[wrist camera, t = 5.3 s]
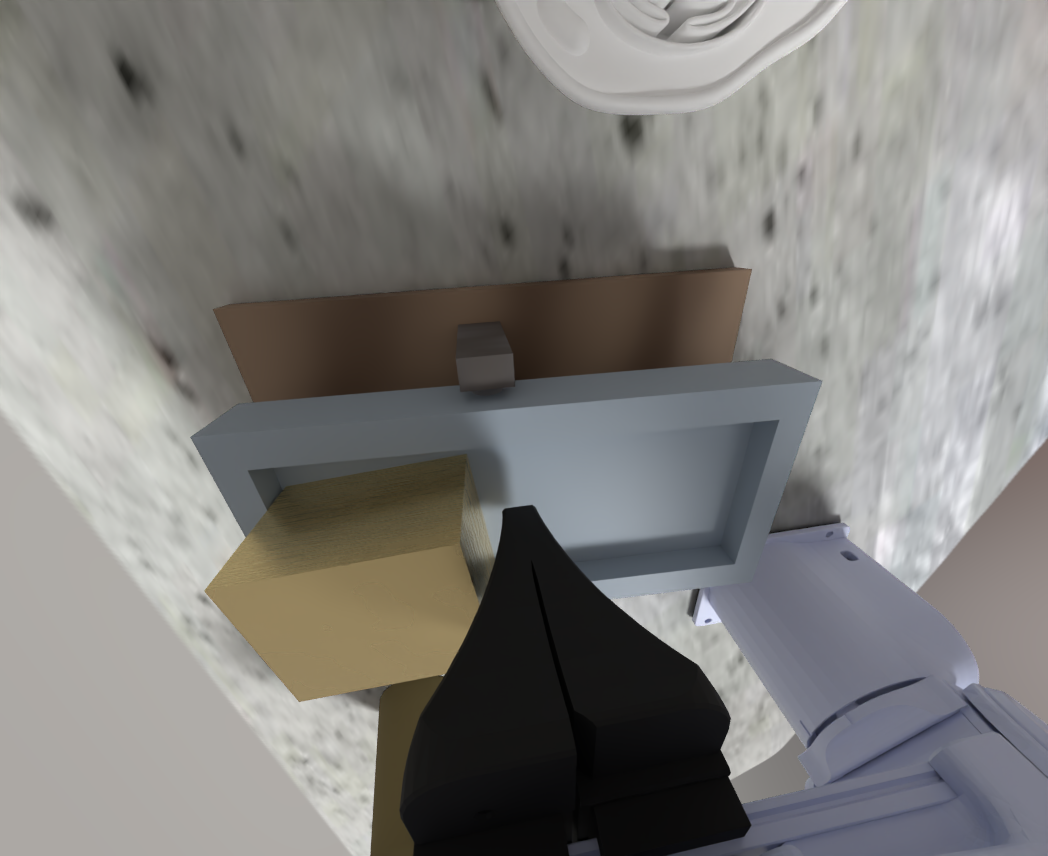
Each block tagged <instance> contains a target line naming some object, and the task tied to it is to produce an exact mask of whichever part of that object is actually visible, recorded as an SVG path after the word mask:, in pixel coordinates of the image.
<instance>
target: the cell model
mask: <svg viewBox="0 0 1048 856" xmlns="http://www.w3.org/2000/svg"><path fill="white" fill-rule="evenodd" d="M494 1H495V3H496V5H497V6H498V8H499V10H500V12H501V14H502V16H503V17H504V19H505V21H506V22H507V24H508V26H509V28H510V29H511V31H512V32H513V34H514V36H515V38H516V39H517V41H518V42H519V44H520V45H521V47H522V48H523V50H524V51H525V52H526V54H527V55H528V56H529V58H530V59H531V60H532V62H533V63H534V64H535V65H536V66H537V68H538V69H539V70H540V71H541V72H542V73H543V75H544V76H545V77H546V78H547V79H548V80H549V81H550V82H551V83H552V84H553V85H554V86H555V87H556V88H557V89H558V90H559V91H560V92H561V93H562V94H564V95H565V96H566V97H568V98H569V99H570V100H572V101H573V102H575V103H577V104H579V105H580V106H582V107H585V108H588V109H590V110H593V111H597V112H601V113H608V114H618V115H657V114H677V113H688V112H695V111H699V110H703V109H706V108H709V107H711V106H714V105H716V104H718V103H720V102H721V101H723V100H725V99H726V98H728V97H729V96H731V95H732V94H733V93H735V92H736V91H737V90H739V89H740V88H741V87H743V86H744V85H745V84H746V83H748V82H749V81H750V80H751V79H752V78H754V77H755V76H756V75H758V74H759V73H760V72H761V71H763V70H764V69H765V68H766V67H768V66H770V65H771V64H773V63H774V62H776V61H777V60H779V59H781V58H782V57H784V56H786V55H787V54H789V53H791V52H792V51H794V50H796V49H797V48H799V47H800V46H802V45H803V44H805V43H806V42H808V41H809V40H810V39H812V38H813V37H814V36H815V35H816V34H817V33H819V32H820V31H821V30H822V29H823V28H824V27H825V26H826V25H827V24H828V23H829V22H830V21H831V20H832V19H833V18H834V17H835V15H836V14H837V13H838V12H839V11H840V9H841V8H842V7H843V6H844V5H845V3H846V2H847V1H848V0H494Z"/></svg>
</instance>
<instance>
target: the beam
mask: <svg viewBox="0 0 1048 856" xmlns="http://www.w3.org/2000/svg"><path fill="white" fill-rule="evenodd" d="M821 384H822V381H821V380H819V379H817V378H814V377H812V376H810V375H807V374H805V373H803V372H801V371H798V370H796V369H794V368H791V367H789V366H787V365H784V364H782V363H780V362H777V361H775V360H773V359H765V360H753V361H741V362H729V363H717V364H706V365H694V366H682V367H670V368H658V369H646V370H634V371H622V372H610V373H599V374H587V375H575V376H563V377H551V378H539V379H527V380H515V387H507V388H497V389H487V390H478V391H468V392H460V386H459V385H456V386H444V387H432V388H420V389H408V390H396V391H385V392H373V393H361V394H349V395H337V396H325V397H313V398H301V399H290V400H278V401H266V402H254V403H242V404H237V405H236V406H234V407H233V408H232V409H230V410H229V411H227V412H226V413H224V414H223V415H222V416H220V417H219V418H217V419H216V420H214V421H213V422H211V423H210V424H209V425H207V426H206V427H204V428H203V429H201V430H200V431H199V432H197V433H196V434H194V435H193V436H191V439H192V441H193V443H194V445H195V446H196V448H197V450H198V452H199V454H200V455H201V457H202V459H203V461H204V463H205V464H206V466H207V468H208V470H209V472H210V474H211V475H212V477H213V479H214V481H215V483H216V484H217V486H218V488H219V490H220V492H221V493H222V495H223V497H224V499H225V501H226V503H227V504H228V506H229V508H230V510H231V512H232V513H233V515H234V517H235V519H236V521H237V522H238V524H239V526H240V528H241V530H242V531H243V533H244V535H245V537H247V536H248V534H249V533H250V532H251V530H252V529H253V528H254V527H255V525H256V524H257V523H258V522H259V520H260V519H261V518H262V516H263V515H264V514H265V513H266V511H267V510H268V509H269V507H270V506H271V505H272V504H273V502H274V501H275V500H276V498H277V497H278V496H279V495H280V493H281V492H282V491H283V490H284V488H285V487H286V486H292V485H297V484H303V483H308V482H314V481H319V480H325V479H330V478H336V477H341V476H347V475H352V474H358V473H363V472H369V471H374V470H380V469H385V468H391V467H396V466H402V465H407V464H413V463H418V462H424V461H429V460H435V459H440V458H446V457H451V456H457V455H462V454H467V457H468V460H469V464H470V468H471V472H472V475H473V479H474V483H475V487H476V490H477V494H478V498H479V502H480V505H481V509H482V513H483V516H484V520H485V524H486V528H487V531H488V535H489V539H490V543H491V546H492V550H493V554H494V558H496V554H497V550H498V545H499V541H500V535H501V529H502V511H503V510H504V509H505V508H511V507H519V506H526V505H533V506H535V507H536V509H537V511H538V513H539V515H540V517H541V518H542V520H543V522H544V523H545V525H546V526H547V528H548V529H549V531H550V532H551V534H552V535H553V536H554V538H555V539H556V540H557V542H558V543H559V544H560V546H561V547H562V548H563V550H564V551H565V552H566V553H567V555H568V556H569V557H570V558H571V560H572V561H573V562H574V563H575V564H576V565H577V566H578V568H579V569H580V570H581V571H582V572H583V573H584V574H585V575H586V576H587V577H588V579H589V580H590V581H591V582H592V583H593V584H594V585H595V586H596V587H597V588H598V589H599V590H600V591H601V592H603V593H604V594H605V595H606V596H607V597H608V598H609V599H618V598H626V597H634V596H642V595H650V594H658V593H666V592H674V591H683V590H691V589H699V588H707V587H715V586H723V585H731V584H739V583H748V582H752V580H753V577H754V574H755V571H756V568H757V566H758V563H759V560H760V557H761V554H762V551H763V549H764V546H765V543H766V540H767V537H768V534H769V531H770V529H771V526H772V523H773V520H774V517H775V514H776V512H777V509H778V506H779V503H780V500H781V497H782V494H783V492H784V489H785V486H786V483H787V480H788V477H789V475H790V472H791V469H792V466H793V463H794V460H795V458H796V455H797V452H798V449H799V446H800V443H801V440H802V438H803V435H804V432H805V429H806V426H807V423H808V421H809V418H810V415H811V412H812V409H813V406H814V403H815V401H816V398H817V395H818V392H819V389H820V386H821Z"/></svg>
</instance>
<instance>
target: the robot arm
mask: <svg viewBox="0 0 1048 856" xmlns="http://www.w3.org/2000/svg"><path fill="white" fill-rule="evenodd" d="M849 532H850V527H849V526H848V525H846V524H845V523H836V524H830V525H823V526H817V527H810V528H804V529H797V530H791V531H784V532H778V533H771V534H768V537H767V540H766V543H765V546H764V549H763V551H762V554H761V557H760V560H759V563H758V566H757V568H756V571H755V574H754V577H753V580H752V582H748V583H739V584H731V585H723V586H715V587H707V588H700V591H699V595H698V599H697V603H696V606H695V610H694V614H693V618H692V621H693V622H694V624H695V625H696V626H703V625H709V624H715V623H720V622H722V623H723V624H724V626H725V627H726V629H727V630H728V632H729V633H730V635H731V636H732V638H733V639H734V641H735V642H736V644H737V645H738V647H739V648H740V650H741V651H742V653H743V654H744V656H745V657H746V659H747V660H748V662H749V664H750V665H751V667H752V668H753V670H754V671H755V673H756V674H757V676H758V677H759V679H760V680H761V682H762V683H763V685H764V686H765V688H766V689H767V691H768V692H769V694H770V695H771V697H772V698H773V700H774V701H775V703H776V704H777V706H778V707H779V709H780V710H781V712H782V713H783V715H784V716H785V718H786V719H787V721H788V722H789V724H790V725H791V727H792V728H793V730H794V731H795V733H796V734H797V736H798V737H799V739H800V740H801V742H802V743H803V745H804V746H805V748H806V749H807V750H806V751H804V752H803V753H802V754H800V755H799V756H798V759H799V760H800V762H801V764H802V765H803V767H804V769H805V770H806V772H807V773H808V775H809V776H810V777H809V778H808V779H807V781H806V783H805V790H801V791H796V792H792V793H788V794H784V795H779V796H775V797H771V798H766V799H762V800H757V801H753V802H749V803H744V804H741V802H740V800H739V798H738V796H737V794H736V792H735V790H734V788H733V786H732V784H731V782H730V779H729V777H728V776H729V775H730V773H731V772H730V768H729V766H728V764H727V762H726V760H725V758H724V756H723V754H722V752H721V750H720V749H721V747H722V744H723V742H724V740H725V737H726V735H727V733H728V730H729V725H730V720H731V718H730V715H729V713H728V711H727V709H726V707H725V705H724V703H723V701H722V700H721V698H720V696H719V694H718V693H717V691H716V690H715V688H714V687H713V686H712V684H711V683H710V681H709V680H708V678H707V677H706V676H705V674H704V673H703V671H702V670H701V669H700V667H699V666H698V665H697V664H696V663H694V662H692V661H691V660H689V659H688V658H686V657H685V656H683V655H682V654H680V653H679V652H677V651H676V650H674V649H673V648H671V647H670V646H668V645H667V644H665V643H664V642H663V641H661V640H660V639H658V638H657V637H656V636H654V635H653V634H652V633H650V632H649V631H648V630H646V629H645V628H644V627H642V626H641V625H640V624H639V623H637V622H636V621H635V620H634V619H633V618H631V617H630V616H629V615H628V614H626V613H625V612H624V611H623V610H622V609H620V608H619V607H618V606H617V605H616V604H614V603H613V602H612V601H611V600H610V599H609V598H608V597H607V596H606V595H605V594H604V593H603V592H601V591H600V590H599V589H598V588H597V587H596V586H595V585H594V584H593V583H592V582H591V581H590V580H589V579H588V577H587V576H586V575H585V574H584V573H583V572H582V571H581V570H580V569H579V568H578V566H577V565H576V564H575V563H574V562H573V561H572V560H571V558H570V557H569V556H568V555H567V553H566V552H565V551H564V550H563V548H562V547H561V546H560V544H559V543H558V542H557V540H556V539H555V538H554V536H553V535H552V534H551V532H550V531H549V529H548V528H547V526H546V525H545V523H544V522H543V520H542V518H541V517H540V515H539V513H538V511H537V509H536V507H535V506H533V505H526V506H519V507H511V508H505V509H504V510H503V511H502V529H501V535H500V541H499V545H498V550H497V554H496V558H495V562H494V565H493V568H492V572H491V575H490V578H489V581H488V584H487V587H486V590H485V593H484V595H483V598H482V600H481V603H480V605H479V608H478V610H477V613H476V615H475V617H474V619H473V621H472V624H471V626H470V628H469V630H468V632H467V634H466V637H465V639H464V641H463V643H462V645H461V646H460V648H459V650H458V652H457V654H456V656H455V657H454V659H453V661H452V663H451V665H450V667H449V669H448V670H447V672H446V674H445V676H444V677H443V679H442V681H441V682H440V684H439V685H438V687H437V689H436V690H435V692H434V693H433V695H432V697H431V698H430V700H429V701H428V703H427V705H426V706H425V708H424V709H423V711H422V713H421V714H420V717H419V720H418V723H417V726H416V729H415V732H414V735H413V738H412V741H411V745H410V748H409V752H408V756H407V760H406V765H405V770H404V775H403V782H402V791H401V800H400V809H399V812H400V817H401V820H402V822H403V823H404V825H405V827H406V829H407V831H408V832H409V834H410V836H411V838H412V840H413V841H414V849H413V856H1048V724H1046V723H1045V722H1044V721H1042V720H1041V719H1040V718H1039V717H1037V716H1036V715H1035V714H1034V713H1032V712H1031V711H1030V710H1029V709H1027V708H1026V707H1024V706H1023V705H1022V704H1021V703H1019V702H1018V701H1017V700H1015V699H1014V698H1013V697H1011V696H1010V695H1008V694H1006V693H1005V692H1003V691H999V690H995V689H991V688H984V687H983V686H981V685H979V670H978V666H977V663H976V660H975V657H974V655H973V653H972V652H971V650H970V648H969V646H968V645H967V643H966V642H965V640H964V639H963V637H962V636H961V634H960V633H959V632H958V631H957V630H956V628H955V627H954V626H953V625H952V624H951V623H950V622H949V621H948V620H947V618H945V616H943V615H942V614H941V613H940V612H939V611H938V610H936V609H935V608H934V607H933V606H932V605H930V604H929V603H928V602H926V601H925V600H924V599H923V598H921V597H920V596H919V595H918V594H916V593H915V592H914V591H913V590H911V589H910V588H909V587H908V586H906V585H905V584H904V583H903V582H901V581H900V580H899V579H898V578H896V577H895V576H894V575H893V574H891V573H890V572H889V571H887V570H886V569H885V568H884V567H882V566H881V565H880V564H879V563H877V562H876V561H875V560H874V559H872V558H871V557H870V556H869V555H867V554H866V553H865V552H864V551H862V550H861V549H860V548H858V547H857V546H856V545H855V544H853V543H852V542H851V541H850V540H848V539H847V536H848V534H849Z"/></svg>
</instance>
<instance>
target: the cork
mask: <svg viewBox="0 0 1048 856" xmlns="http://www.w3.org/2000/svg"><path fill="white" fill-rule="evenodd" d="M442 679H443V677H442V676H433V677H427V678H422V679H417V680H411V681H406V682H401V683H396V684H392V685H391V686H390V687H389V688H387V689H386V690H385V691H384V692H383V694H382V696H381V698H380V705H379V722H378V738H377V755H376V772H375V788H374V805H373V822H372V838H371V855H370V856H413V849H414V841H413V840H412V838H411V836H410V834H409V832H408V831H407V829H406V827H405V825H404V823H403V822H402V820H401V817H400V812H399V809H400V800H401V791H402V782H403V775H404V770H405V765H406V760H407V756H408V752H409V748H410V745H411V741H412V738H413V735H414V732H415V729H416V726H417V723H418V720H419V717H420V714H421V713H422V711H423V709H424V708H425V706H426V705H427V703H428V701H429V700H430V698H431V697H432V695H433V693H434V692H435V690H436V689H437V687H438V685H439V684H440V682H441V681H442Z"/></svg>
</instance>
